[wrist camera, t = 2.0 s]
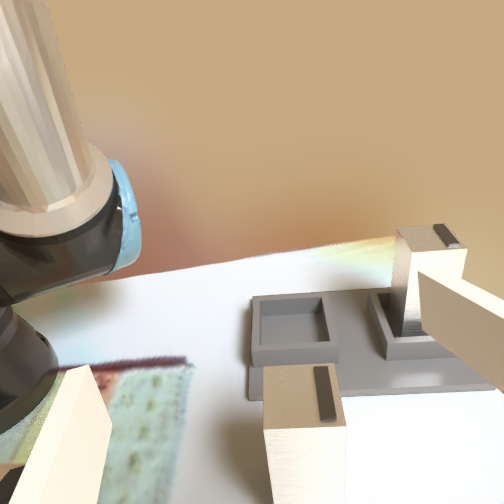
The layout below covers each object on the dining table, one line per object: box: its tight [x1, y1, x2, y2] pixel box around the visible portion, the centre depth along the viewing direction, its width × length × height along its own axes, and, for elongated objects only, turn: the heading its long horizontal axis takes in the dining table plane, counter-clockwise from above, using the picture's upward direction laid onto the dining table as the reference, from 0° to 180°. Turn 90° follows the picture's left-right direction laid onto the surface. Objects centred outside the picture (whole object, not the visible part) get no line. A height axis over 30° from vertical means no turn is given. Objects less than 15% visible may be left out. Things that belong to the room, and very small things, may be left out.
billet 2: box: [388, 224, 467, 337], centre depth 42 cm, size 5×5×12 cm
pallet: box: [248, 287, 496, 401], centre depth 45 cm, size 24×16×4 cm, turn 88°
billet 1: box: [263, 363, 346, 504], centre depth 29 cm, size 5×5×12 cm
